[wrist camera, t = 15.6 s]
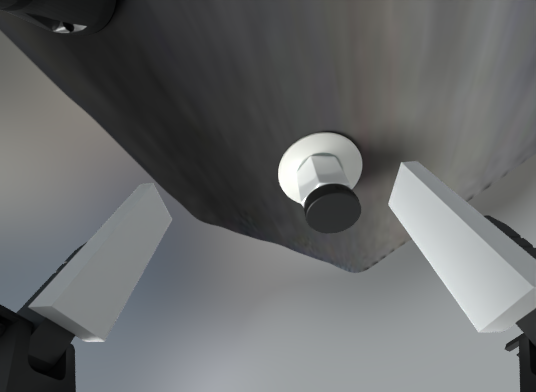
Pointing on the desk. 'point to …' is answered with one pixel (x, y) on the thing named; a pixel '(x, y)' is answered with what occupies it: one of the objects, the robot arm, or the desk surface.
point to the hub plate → (318, 146)
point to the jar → (327, 195)
